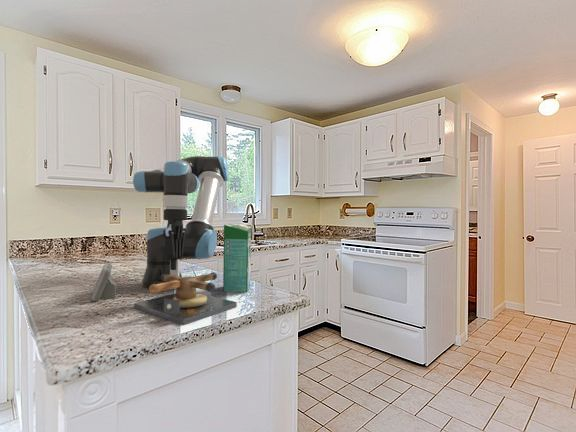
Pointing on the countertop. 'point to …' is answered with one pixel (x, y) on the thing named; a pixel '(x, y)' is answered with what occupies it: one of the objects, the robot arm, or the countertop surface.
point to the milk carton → (237, 258)
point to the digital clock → (104, 285)
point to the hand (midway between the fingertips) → (174, 279)
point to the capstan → (186, 288)
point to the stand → (180, 315)
